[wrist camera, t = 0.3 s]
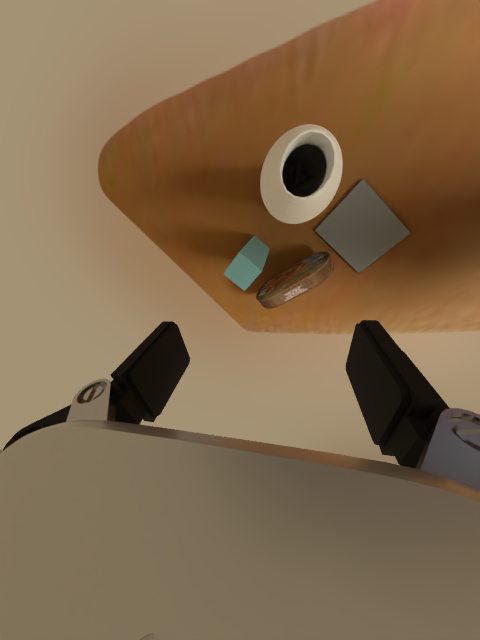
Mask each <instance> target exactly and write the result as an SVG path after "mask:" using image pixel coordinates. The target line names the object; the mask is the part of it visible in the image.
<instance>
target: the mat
mask: <svg viewBox="0 0 480 640" xmlns="http://www.w3.org/2000/svg"><path fill="white" fill-rule="evenodd" d="M315 231H316V232H317V233H318V234H319V235H320V236H321V237H322V238H323V239H324V240H325V241H326V242H327V243H328V244H329V245H330V246H331V247H332V248H333V249H334V250H335V251H336V252H338V253H339V254H340V255H341V256H342V257H343V258H344V259H345V260H346V261H347V262H348V263H349V264H350V265H351V266H352V267H353V268H354V269H355V270H356V271H357V272H358V273H360V272H362V271H363V270H364V269H365V268H367V267H368V266H369V265H370V264H372V263H373V262H374V261H376V260H377V259H378V258H379V257H381V256H382V255H383V254H385V253H386V252H387V251H388V250H390V249H391V248H392V247H394V246H395V245H396V244H397V243H399V242H400V241H401V240H403V239H404V238H405V237H406V236H408V235H409V234H410V231H409V230H408V229H407V228H406V227H405V226H404V225H403V223H402V222H401V221H400V220H399V219H398V218H397V217H396V216H395V214H394V213H393V212H392V211H391V210H390V209H389V208H388V206H387V205H386V204H385V203H384V202H383V201H382V200H381V198H380V197H379V196H378V195H377V194H376V193H375V192H374V190H373V189H372V188H371V187H370V186H369V185H368V184H367V182H366V181H365V180H364V179H362V180H361V181H360V182H359V183H358V184H357V185H356V186H355V187H354V188H353V189H352V190H351V191H350V192H349V193H348V195H347V196H346V197H345V198H344V199H343V200H342V201H341V202H340V203H339V204H338V205H337V206H336V207H335V208H334V210H333V211H332V212H331V213H330V214H329V215H328V216H327V217H326V218H325V219H324V220H323V221H322V222H321V223H320V225H319V226H318V227H317V228H316V229H315Z"/></svg>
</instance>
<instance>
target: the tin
mask: <svg viewBox="0 0 480 640" xmlns="http://www.w3.org/2000/svg"><path fill="white" fill-rule="evenodd" d="M333 270H334V264H333V262H332V260H331V258H330V254H329V253H328V252H319V253H315V254H313V255H310V256H308V257H307V258H305V259H303V260H301V261H300V262H298V263H297V264H295V265H293V266H292V267H290V268H288V269H287V270H285V271H284V272H282V273H280V274H279V275H277V276H275V277H274V278H272V279H271V280H269V281H268V282H267V283H266V284H265V285H264V286H263V287H262V288H261V289H260V290H259V292H258V293H257V296H256V298H257V300H259V302H260V303H261V304H262V305H263V306H264V307H265V308H268V309H270V308H275V307H278V306H280V305H282V304H284V303H286V302H288V301H290V300H291V299H293V298H295V297H297V296H299V295H301V294H303V293H305V292H307V291H309V290H311V289H312V288H314V287H316V286H318V285H319V284H321V283H322V282H324V281H325V280H326V279H327V278H328V277H329V276H330V275H331V274H332V272H333Z"/></svg>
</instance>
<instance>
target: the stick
mask: <svg viewBox="0 0 480 640" xmlns="http://www.w3.org/2000/svg"><path fill="white" fill-rule="evenodd" d="M269 250H270V248H269V247H267V246H266V245H265V244H264V243H263V242H262V241H261V240H260V239H258V238H257V237H256V236H255V235H254V236H253V237H252V238H251V240H250V241H249V242H248V243H247V244H246V245H245V246H244V247H243V248H242V249H241V250H240V252H239V253H238V254H237V256H236V257H235V258H234V260H233V261H232V263H231V264H230V265H229V267H228V268H227V269H226V271H225V272H224V275H225V276H226V277H228V278H229V279H230V280H231V281H233V282H234V283H235V284H236V285H238V286H239V287H240V288H241V289H243V290H244V291H245V290H246V289H247V288H248V287H249V286H250V285H251V283H252V282H253V281H254V280H255V279H256V278H257V277H258V275H259V274H260V273H261V272H262V270H263V267H264V265H265V262H266V259H267V256H268V253H269Z"/></svg>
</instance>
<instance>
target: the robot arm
mask: <svg viewBox="0 0 480 640" xmlns="http://www.w3.org/2000/svg"><path fill="white" fill-rule="evenodd" d="M189 362H190V357H189V355H188V352H187V349H186V347H185V344H184V341H183V339H182V336H181V333H180V330H179V328H178V326H177V324H175V323H174V322H162V323H161V324H160V325H159V326H158V327H157V328H156V329H155V330H154V331H153V332H152V333H151V334H150V335H149V336H148V337H147V338H146V339H145V340H144V341H143V342H142V343H141V344H140V345H139V346H138V347H137V348H136V349H135V350H134V351H133V353H132V354H130V356H128V358H127V359H126V360H125V361H124V362H123V363H122V364H121V365H120V366H119V367H118V368H117V369H116V370H115V371H114V372H113V373H112V374H111V377H112V378H113V379H114V380H113V381H112V382H110V381H109V380H108V379H99V380H96V381H93V382H91V383H90V384H88V385H87V386H85V387H83V388H82V389H81V390H80V391H79V392H78V393H77V394H76V395H75V397H74V399H73V401H72V404H71V405H70V406H67V407H65V408H63V409H61V410H59V411H57V412H55V413H53V414H51V415H49V416H47V417H44V418H43V419H40V420H38V421H36V422H34V423H32V424H30V425H29V426H26V427H25V428H23V429H21V430H20V431H19V432H17V433H16V434H15V435H14V436H13V437H12V438H11V440H10V441H9V442H8V443H7V444H6V446H5V447H4V449H3V451H2V450H0V640H480V415H479V414H476V413H474V412H471V411H468V410H463V409H459V408H449V407H448V406H447V404H446V403H445V402H444V401H443V399H442V398H441V397H440V396H439V394H438V393H437V392H436V391H435V390H434V388H433V387H432V386H431V385H430V383H429V382H428V381H427V380H426V378H425V377H424V376H423V375H422V373H421V372H420V371H419V370H418V368H417V367H416V366H415V365H414V364H413V362H412V361H411V360H410V359H409V357H407V355H406V354H405V353H404V352H403V351H402V350H401V349H400V348H399V347H398V345H397V344H396V343H395V342H394V340H393V339H392V338H391V337H390V335H389V334H388V333H387V332H386V330H385V329H384V328H383V327H382V325H381V324H380V323H379V322H378V321H376V320H363V321H361V322H360V324H356V326H355V330H354V334H353V339H352V342H351V346H350V350H349V354H348V358H347V363H346V372H347V374H348V377H349V380H350V382H351V385H352V388H353V390H354V393H355V395H356V398H357V401H358V403H359V406H360V409H361V411H362V414H363V417H364V419H365V422H366V424H367V427H368V430H369V432H370V435H371V437H372V440H373V442H374V444H376V445H379V447H380V449H381V452H382V455H390V456H395V457H396V459H397V461H398V464H400V465H396V464H391V463H387V462H381V461H375V460H368V459H363V458H357V457H351V456H345V455H340V454H334V453H327V452H320V451H314V450H308V449H301V448H295V447H288V446H281V445H275V444H268V443H262V442H255V441H249V440H242V439H235V438H228V437H222V436H214V435H208V434H201V433H194V432H187V431H181V430H174V429H167V428H159V427H153V426H145V425H140V422H141V421H142V419H143V420H144V421H149V422H154V421H155V419H156V417H157V416H158V415H160V414H161V412H162V410H163V409H164V407H165V405H166V403H167V402H168V400H169V398H170V396H171V394H172V392H173V391H174V389H175V387H176V385H177V384H178V382H179V380H180V379H181V377H182V375H183V373H184V372H185V370H186V368H187V366H188V365H189Z"/></svg>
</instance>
